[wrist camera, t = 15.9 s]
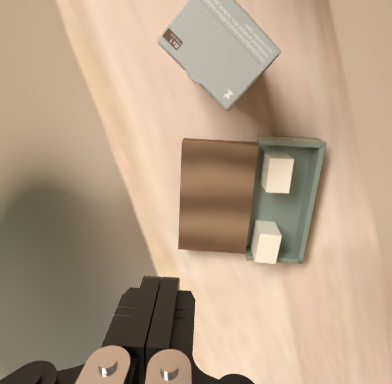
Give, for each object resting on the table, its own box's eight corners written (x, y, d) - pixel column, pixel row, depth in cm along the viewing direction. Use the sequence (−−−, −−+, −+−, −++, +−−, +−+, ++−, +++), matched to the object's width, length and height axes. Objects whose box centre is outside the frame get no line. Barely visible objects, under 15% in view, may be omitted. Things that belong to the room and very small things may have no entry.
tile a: (269, 158, 37) (294, 159, 37) (263, 151, 41) (285, 152, 41) (265, 192, 38) (288, 193, 38) (259, 181, 42) (280, 182, 42)
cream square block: (260, 233, 40) (281, 236, 40) (255, 219, 44) (274, 222, 44) (254, 261, 42) (275, 264, 42) (250, 245, 46) (269, 247, 46)
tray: (258, 135, 41) (262, 138, 38) (317, 138, 40) (326, 142, 37) (244, 249, 47) (246, 260, 44) (296, 252, 46) (302, 263, 43)
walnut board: (183, 138, 41) (182, 141, 38) (255, 142, 41) (258, 146, 38) (180, 239, 47) (178, 249, 44) (243, 243, 46) (245, 253, 44)
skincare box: (260, 64, 38) (294, 48, 23) (221, 106, 40) (229, 117, 25) (213, 13, 36) (216, -40, 21) (174, 60, 38) (153, 42, 23)
